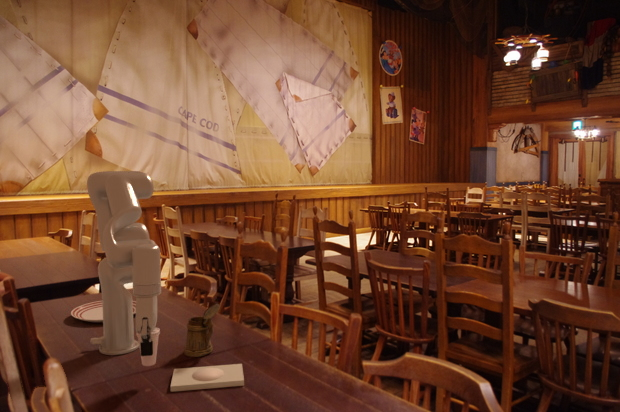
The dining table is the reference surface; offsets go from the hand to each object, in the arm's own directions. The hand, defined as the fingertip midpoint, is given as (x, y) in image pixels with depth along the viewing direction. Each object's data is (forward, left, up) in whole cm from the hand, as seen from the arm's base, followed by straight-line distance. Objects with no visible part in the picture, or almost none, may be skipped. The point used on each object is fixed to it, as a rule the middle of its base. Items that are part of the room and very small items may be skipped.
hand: (148, 349), depth 144 cm
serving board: (+16, -1, -10) cm, 19 cm away
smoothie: (0, 0, -4) cm, 4 cm away
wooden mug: (+14, +20, -10) cm, 27 cm away
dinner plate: (-26, +71, -10) cm, 76 cm away
